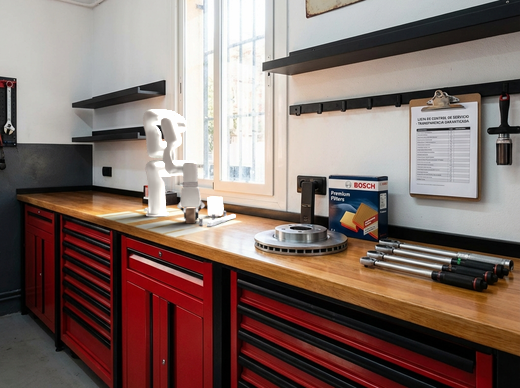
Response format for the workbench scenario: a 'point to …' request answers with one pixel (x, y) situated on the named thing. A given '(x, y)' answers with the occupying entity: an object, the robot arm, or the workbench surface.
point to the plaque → (190, 215)
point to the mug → (215, 206)
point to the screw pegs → (212, 218)
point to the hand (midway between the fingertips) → (191, 219)
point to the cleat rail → (221, 220)
